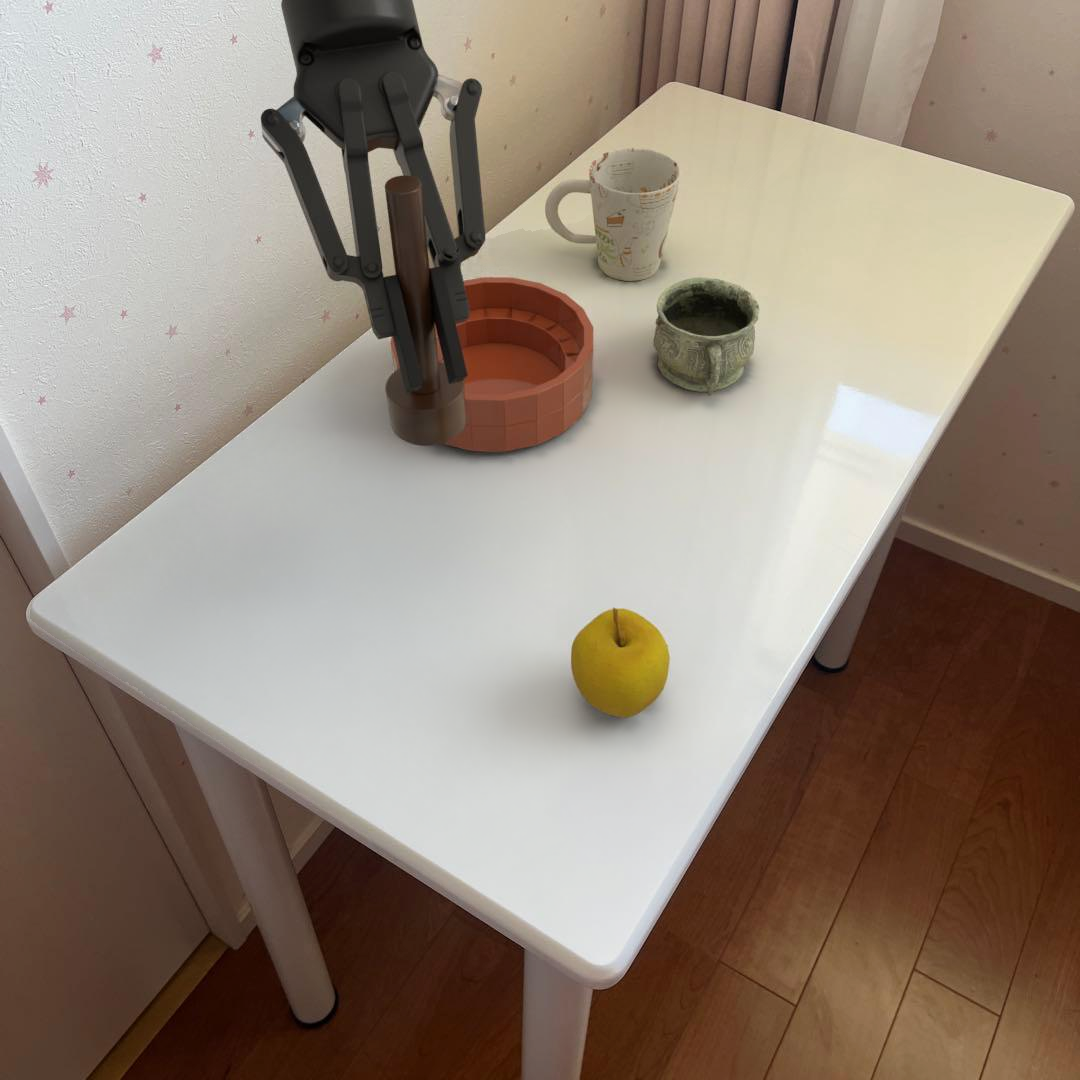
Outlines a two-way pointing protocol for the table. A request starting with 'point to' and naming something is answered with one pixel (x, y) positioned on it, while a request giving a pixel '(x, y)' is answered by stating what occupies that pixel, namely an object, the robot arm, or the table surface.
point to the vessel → (704, 333)
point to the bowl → (520, 364)
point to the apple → (620, 662)
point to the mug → (624, 210)
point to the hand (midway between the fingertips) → (436, 383)
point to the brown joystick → (419, 328)
